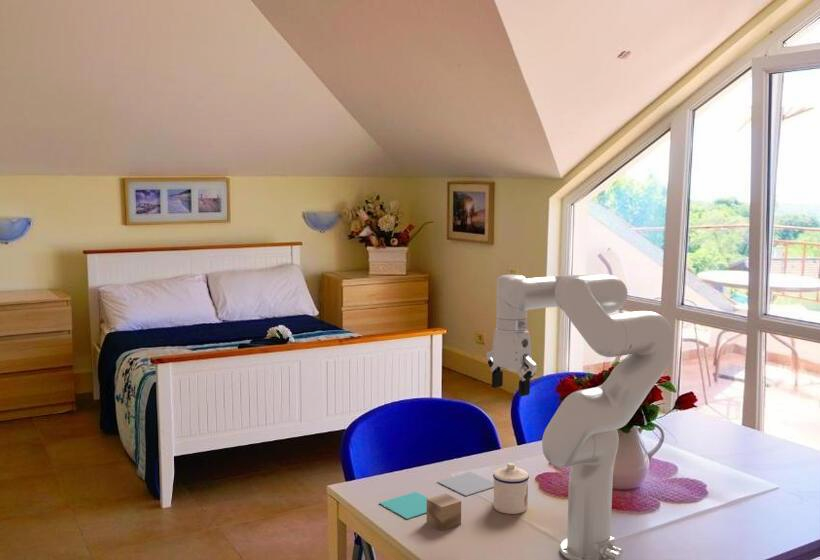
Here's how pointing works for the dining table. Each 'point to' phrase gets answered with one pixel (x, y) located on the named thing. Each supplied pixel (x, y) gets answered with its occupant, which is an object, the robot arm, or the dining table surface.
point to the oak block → (443, 511)
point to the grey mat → (467, 483)
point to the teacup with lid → (510, 489)
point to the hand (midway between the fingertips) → (510, 391)
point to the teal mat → (408, 505)
